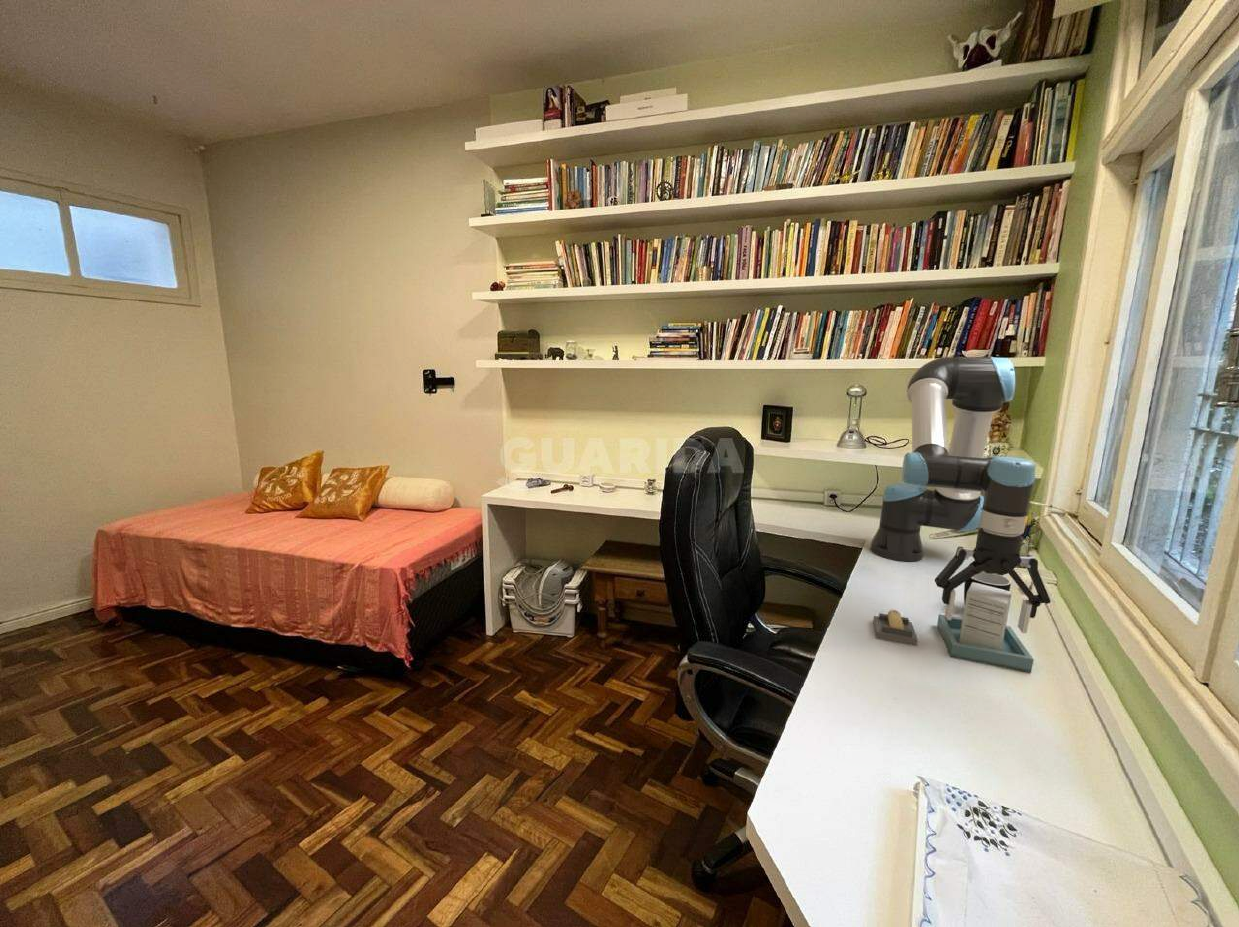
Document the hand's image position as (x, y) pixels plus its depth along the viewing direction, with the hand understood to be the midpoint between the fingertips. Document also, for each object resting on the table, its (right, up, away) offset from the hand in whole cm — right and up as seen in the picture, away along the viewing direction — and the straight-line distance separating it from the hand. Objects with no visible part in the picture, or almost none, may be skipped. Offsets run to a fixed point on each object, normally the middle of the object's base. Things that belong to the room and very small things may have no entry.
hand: (984, 623), depth 110 cm
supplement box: (0, -5, +1) cm, 5 cm away
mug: (+12, -3, +17) cm, 20 cm away
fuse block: (-16, -4, +6) cm, 18 cm away
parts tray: (0, -6, +1) cm, 6 cm away
